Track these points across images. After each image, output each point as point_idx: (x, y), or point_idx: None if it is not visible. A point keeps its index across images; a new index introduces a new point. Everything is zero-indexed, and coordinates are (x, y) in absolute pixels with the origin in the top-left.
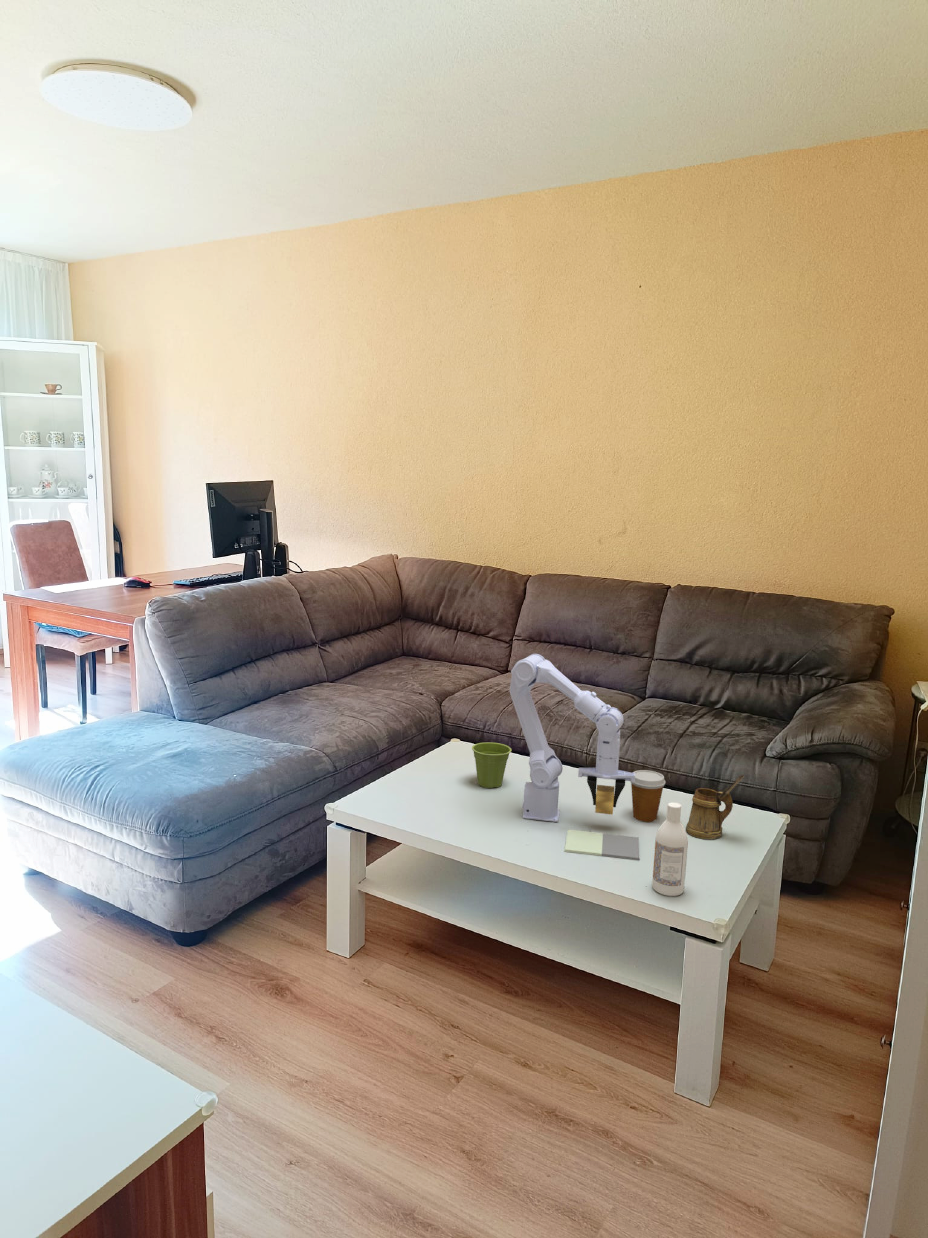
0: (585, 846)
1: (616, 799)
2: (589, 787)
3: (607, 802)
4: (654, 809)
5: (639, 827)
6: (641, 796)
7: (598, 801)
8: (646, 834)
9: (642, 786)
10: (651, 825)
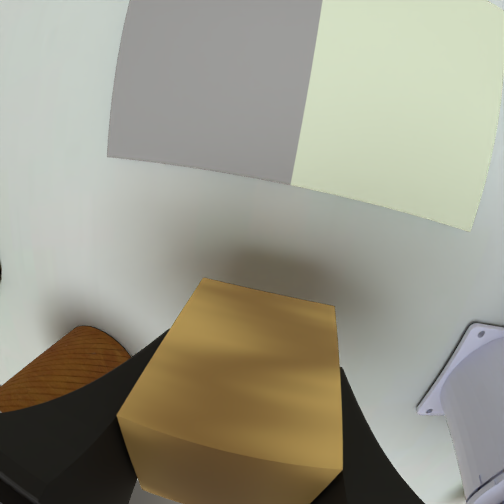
0: (415, 15)
1: (131, 365)
2: (418, 499)
3: (224, 350)
4: (45, 352)
5: (109, 285)
6: None
7: (315, 369)
8: (83, 218)
9: None
10: (75, 300)
